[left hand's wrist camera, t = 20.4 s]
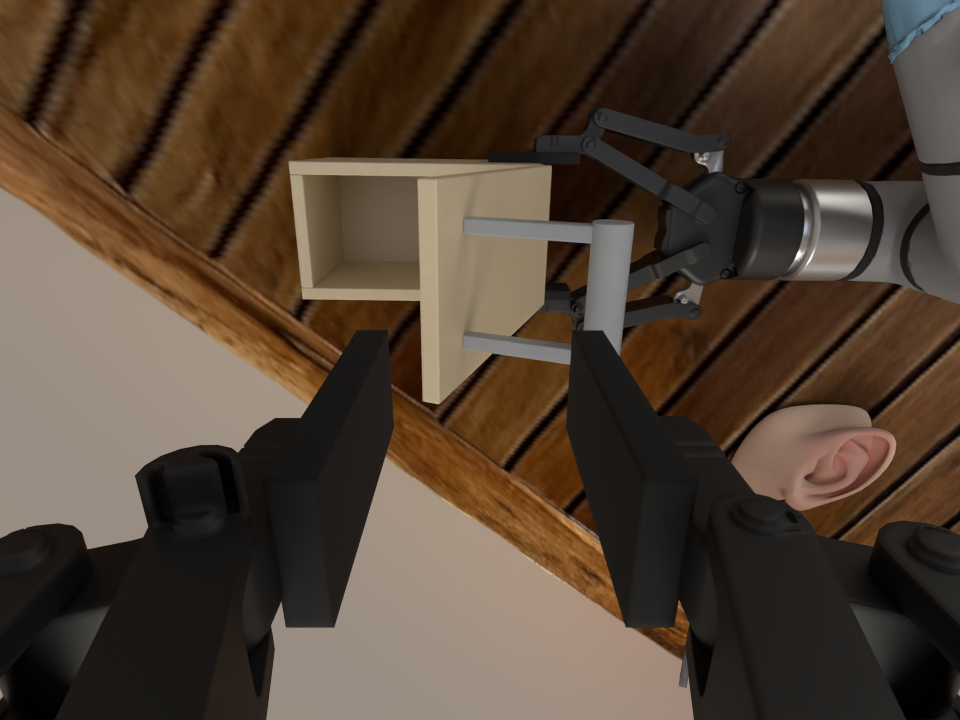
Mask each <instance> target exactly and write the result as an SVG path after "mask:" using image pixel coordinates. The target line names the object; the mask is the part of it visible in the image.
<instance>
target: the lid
mask: <svg viewBox="0 0 960 720" xmlns="http://www.w3.org/2000/svg"><path fill="white" fill-rule="evenodd" d="M551 173H552V166H551V165H537V166H528V167H518V168H509V169H499V170H490V171H481V172H471V173H462V174H452V175H443V176H433V177H424V178H418V180H417V185H418V226H419V266H420V306H421V346H422V387H423V401H425V402H430V403H436V404H440V403H441V402H442V401H443V400H444V399H445V398H446V397H447V396H448V395H449V394H450V393H451V392H452V391H453V390H454V389H455V388H457V387H458V386H459V385H460V384H461V383H462V382H463V381H464V380H465V379H466V378H467V377H468V376H469V375H470V374H471V373H472V372H473V371H474V370H475V369H477V368H478V367H479V366H480V365H481V364H482V363H483V362H484V361H485V360H486V359H487V358H488V357H489V356H490V355H491V354H492V353H495V354H502V355H509V356H516V357H522V358H529V359H536V360H543V361H550V362H557V363H564V364H570V359H571V344H563V343H556V342H548V341H541V340H533V339H526V338H518V337H511V335H512V334H513V333H514V332H515V331H516V330H517V329H519V328H520V327H521V326H522V325H523V324H524V323H525V322H526V321H527V320H528V319H529V318H530V317H531V316H532V315H533V314H534V313H535V312H536V311H537V310H539V309H540V308H541V307H542V306H543V305H544V296H545V278H546V261H547V243H548V240H551V241H564V242H578V243H591V247H590V259H589V270H588V282H587V294H586V306H585V318H584V329H583V330H603V331H604V333H605V335H606V336H607V338H608V339H609V341H610V342H611V344H612V345H613V347H614V349H615V350H616V352H617V353H618V355H619V356H620V351H621V342H622V333H623V324H624V315H625V306H626V297H627V288H628V279H629V270H630V261H631V252H632V243H633V234H634V225H635V224H634V222H631V221H625V220H612V219H603V220H595V221H593V223H592V224H591V223H574V222H558V221H549V208H550V191H551Z"/></svg>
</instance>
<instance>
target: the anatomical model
mask: <svg viewBox="0 0 960 720" xmlns="http://www.w3.org/2000/svg"><path fill="white" fill-rule="evenodd" d="M895 449H896V441H895V438H894V436H893V435H892V434H891V433H889V432H887V431H885V430H883V429H879V428H873V427H871V419H870V417H869V415H868V413H867V412H866V411H865V410H863V409H861V408H859V407H855V406H848V405H836V404H817V405H801V406H794V407H788V408H784V409H780V410H777V411H775V412H773V413H771V414H769V415H768V416H766V417H765V418H763V419H762V420H761V421H760V422H759V423H758V424H757V425H756V426H755V427H754V428H753V429H752V430H751V431H750V432H749V433H748V435H747V436H746V437H745V439H744V440H743V441H742V443H741V444H740V446H739V448H738V449H737V451H736V452H735V454H734V456H733V458H732V461H731V463H732V464H733V465H734V467H735V468H736V469H737V471H738V472H739V473H740V474H741V476H742V477H743V478H744V480H745V481H746V482H747V483H748V485H749V486H750V487H751V489H752V490H753V491H754V492H755V493H756V494H760V495H764V496H769V497H771V498H774V499H776V500H783V499H785V500H786V502H787V503H788V505H789V506H791V507H792V508H794V509H795V510H799V511H801V510H807V509H810V508H814V507H817V506H820V505H823V504H826V503H829V502H832V501H835V500H839V499H842V498H844V497H847V496H849V495H852V494H854V493H856V492H858V491H860V490H862V489H863V488H865V487H866V486H868V485H869V484H870V483H872V482H873V481H874V480H875V479H877V478H878V477H879V476H880V475H881V474H882V473H883V472H884V471H885V469H886V468H887V467H888V465H889V464H890V462H891V460H892V458H893V456H894V453H895Z"/></svg>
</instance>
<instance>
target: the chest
mask: <svg viewBox="0 0 960 720" xmlns="http://www.w3.org/2000/svg"><path fill="white" fill-rule="evenodd" d="M537 165H543V164H540V163H489V162H488V160H469V159H402V158H336V157H329V158H318V159H307V160H297V161H289V170H290V174H291V175H290V179H291V189H292V198H293V208H294V218H295V228H296V237H297V247H298V257H299V267H300V276H301V286H302V297H303V299H335V300H413V301H420V266H419V226H418V185H417V180H418V178H424V177H433V176H443V175H452V174H462V173H471V172H481V171H490V170H499V169H509V168H518V167H528V166H537Z"/></svg>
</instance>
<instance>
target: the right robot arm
mask: <svg viewBox="0 0 960 720" xmlns="http://www.w3.org/2000/svg"><path fill="white" fill-rule="evenodd" d="M881 4H882V10H883V16H884V23H885V29H886V36H887V43H888V49H889V55H888V58H889V61H890V64H893V67H894V71H895V75H896V78H897V82H898V86H899V90H900V93H901V97H902V101H903V104H904V108H905V112H906V115H907V119H908V123H909V126H910V130H911V134H912V138H913V141H914V145H915V149H916V152H917V156H918V161H919V165H920V169H921V174H922V178H923V181H855V180H819V179H798V180H793V181H791V182H790V181H789V180H786V179H753V178H732V177H730V176H728V175H727V174H725V173H723V172H722V168H723V151H724V150H726V149H727V148H728V147H729V145H730V137H729V135H728V134H726V133H708V134H698V135H696V134H692V133H689V132H686V131H682V130H679V129H675V128H672V127H668V126H665V125H662V124H658V123H655V122H651V121H648V120H645V119H641V118H638V117H634V116H631V115H627V114H624V113H621V112H617V111H614V110H610V109H607V108H600V109H596V110H593V111H592V112H591V113H590V114H589V116H588V121H587V123H586V125H585V128H584V130H583V131H582V132H581V133H580V134H579V135H541V136H539V137H536V138H535V144H534V152H510V151H488V162H489V163H540V164H580V161H581V154H584V155H586V156H587V157H589V158H591V159H592V160H594V161H596V162H598V163H599V164H601V165H603V166H604V167H606V168H608V169H609V170H611V171H613V172H614V173H616V174H618V175H619V176H621V177H623V178H624V179H626V180H628V181H629V182H631V183H633V184H634V185H636V186H638V187H639V188H641V189H643V190H644V191H646V192H648V193H649V194H650V195H652V196H654V197H655V198H657V199H659V200H660V201H662V202H663V204H662V206H661V207H659V209H658V224H659V228H658V231H657V234H656V236H655V241H654V248H656V250H654V251H652V252H650V253H648V254H646V255H644V256H643V257H642V258H641V259H640V260H638V261H635V262H633V263H631V264H630V270H629V279H628V288H627V292H628V291H630V290H632V289H634V288H637V287H639V286H641V285H643V284H645V283H647V282H649V281H651V280H654V279H659V278H663V277H665V276H667V275H669V274H671V273H674V272H678V273H679V274H680V275H681V276H683V277H684V278H685V279H686V280H688V281H687V284H686V285H685V286H684V287H682V288H678V289H675V290H673V291H672V293H671V295H660V296H654V297H650V298H645V299H641V300H636V301H632V302H627V303H626V306H625V315H624V324H623V328H625V327H629V326H634V325H639V324H643V323H648V322H653V321H657V320H662V319H666V318H671V317H674V318H682V319H691V320H696V319H698V318H699V317H700V316H701V315H702V308H701V307H700V306H699V301H700V297H701V293H702V290H703V286H704V285H707V284H709V283H711V282H713V281H716V280H774V279H776V278H779V279H781V280H802V281H875V282H889V283H895V284H900V285H903V286H906V287H909V288H912V289H915V290H918V291H920V292H923V293H926V294H931V295H934V296H937V297H940V298H943V299H946V300H948V301H951V302H954V303H957V304H960V0H881ZM604 131H608V132H611V133H615V134H618V135H622V136H625V137H629V138H632V139H636V140H639V141H643V142H646V143H650V144H653V145H656V146H660V147H663V148H667V149H670V150H674V151H678V152H687V153H690V158H691V161H692V162H693V163H696V164H700V165H702V167H703V168H704V173H703V174H701V175H700V176H698V177H697V178H695V179H694V180H692V181H691V182H689V183H688V184H686V185H685V186H683V187H682V188H681V187H679V186H677V185H676V184H674V183H672V182H670V181H668V180H666V179H664V178H663V177H661V176H659V175H658V174H656V173H654V172H653V171H651V170H649V169H648V168H646V167H644V166H643V165H641V164H639V163H638V162H636V161H634V160H633V159H631V158H630V157H628V156H626V155H625V154H623V153H621V152H620V151H618V150H616V149H615V148H613V147H611V146H610V145H608V144H606V143H605V142H603V141H601V138H602V136H603V134H604ZM586 294H587V285H585V286H583V287H581V288H579V289H577V290H575V291H573V292H571V291H570V289H569V287H568V286H567V284H566V283H545V296H544V305H543V306H542V307H541V308H540V309H539V310H537V311H536V312H564V313H568V314H570V315H571V318H572V322H573V324H574V326H575V328H576V330H583V329H584V318H585V306H586Z"/></svg>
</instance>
